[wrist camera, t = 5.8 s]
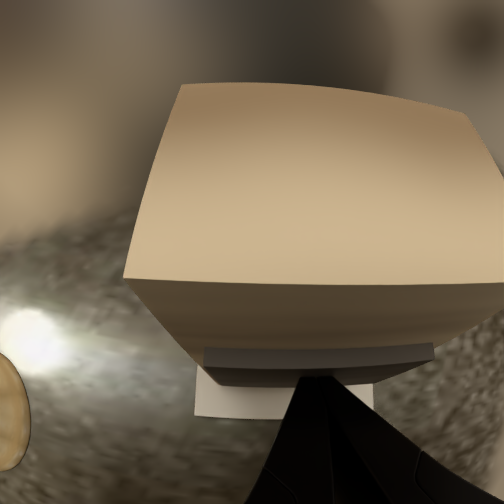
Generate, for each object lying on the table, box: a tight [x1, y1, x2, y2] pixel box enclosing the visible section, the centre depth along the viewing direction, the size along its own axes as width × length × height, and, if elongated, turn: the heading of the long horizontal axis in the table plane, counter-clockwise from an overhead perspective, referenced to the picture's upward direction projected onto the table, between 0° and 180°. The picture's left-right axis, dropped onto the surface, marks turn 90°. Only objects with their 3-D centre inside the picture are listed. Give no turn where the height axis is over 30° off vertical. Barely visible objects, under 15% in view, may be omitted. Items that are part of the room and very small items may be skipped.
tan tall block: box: [123, 83, 504, 388], centre depth 9 cm, size 4×6×11 cm
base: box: [194, 365, 374, 419], centre depth 13 cm, size 10×8×6 cm
